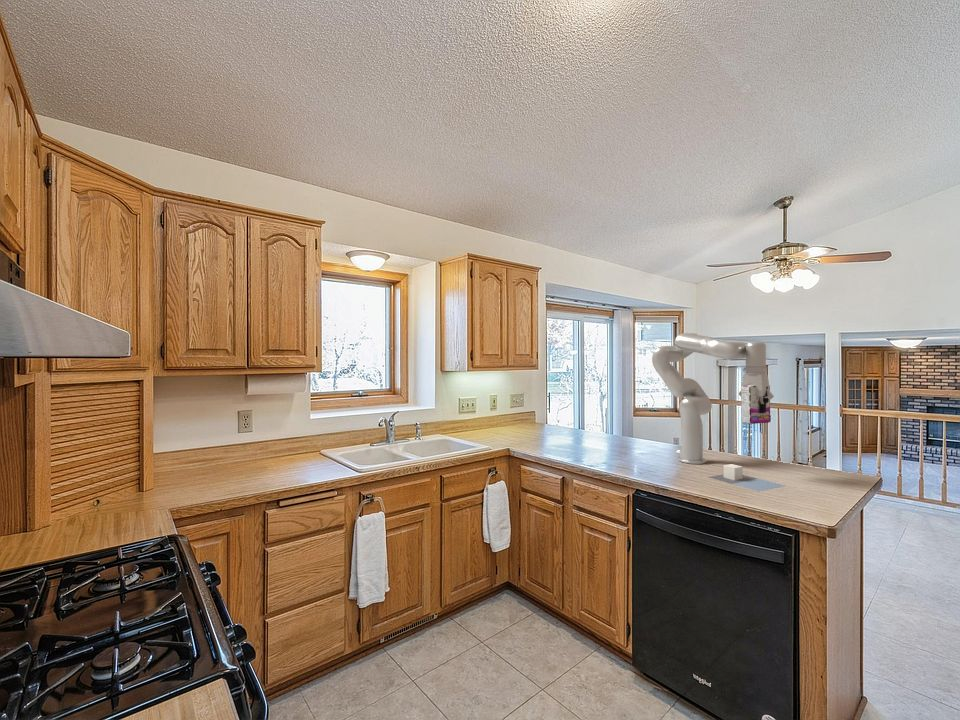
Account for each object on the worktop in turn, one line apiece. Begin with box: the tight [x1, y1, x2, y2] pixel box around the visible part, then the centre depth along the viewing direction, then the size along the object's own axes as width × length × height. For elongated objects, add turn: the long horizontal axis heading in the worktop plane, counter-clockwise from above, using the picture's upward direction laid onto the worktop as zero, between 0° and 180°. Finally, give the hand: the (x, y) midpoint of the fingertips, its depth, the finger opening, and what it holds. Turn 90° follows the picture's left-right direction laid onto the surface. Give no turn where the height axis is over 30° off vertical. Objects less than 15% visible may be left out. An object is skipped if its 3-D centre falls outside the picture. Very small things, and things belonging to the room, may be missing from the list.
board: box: [708, 473, 786, 492], centre depth 184 cm, size 22×16×1 cm
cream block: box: [722, 463, 744, 480], centre depth 189 cm, size 5×5×5 cm
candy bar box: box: [740, 384, 771, 425], centre depth 197 cm, size 11×5×16 cm, turn 106°
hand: (755, 411), depth 197 cm, fingers closed on candy bar box, 5 cm apart
